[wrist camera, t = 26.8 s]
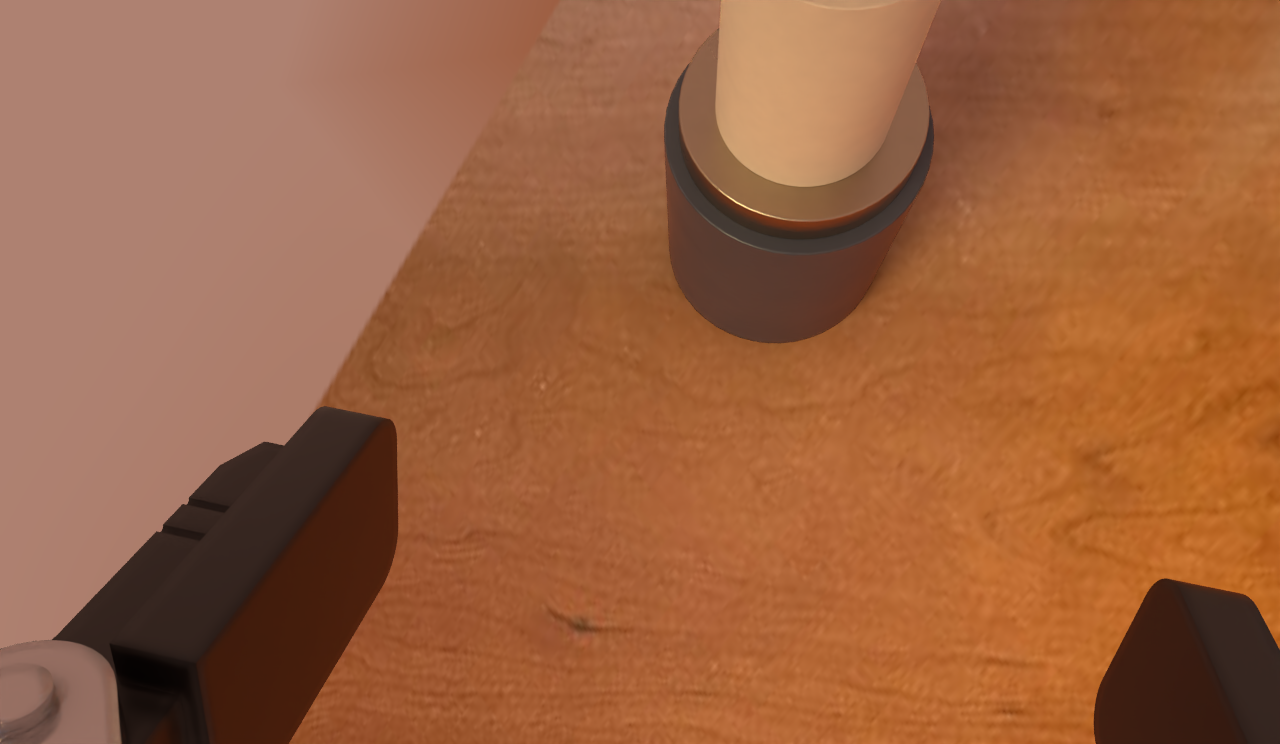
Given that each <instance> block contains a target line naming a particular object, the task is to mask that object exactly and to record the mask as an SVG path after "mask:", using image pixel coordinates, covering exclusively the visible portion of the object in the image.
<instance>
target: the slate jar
mask: <svg viewBox="0 0 1280 744" xmlns="http://www.w3.org/2000/svg"><path fill="white" fill-rule="evenodd" d="M718 44H719V28H718V29H717V30H716V31H715V32H714V33H713V34H712V35H710V36H709V37H708V39H707V40H706V41H705V42H704V43H703V44H702V46H701V47H700V48H699V49H698V51H697V52H696V54H695V56H694V57H693V59H692V60H691V62H690V63H689V64H688V65H687V67H686V68H685V70H684V71H683V73H682V74H681V76H680V77H679V79H678V81H677V83H676V85H675V87H674V89H673V92H672V94H671V97H670V100H669V103H668V107H667V111H666V118H665V124H664V144H665V165H666V187H667V209H668V230H669V251H670V258H671V264H672V268H673V272H674V275H675V278H676V280H677V282H678V284H679V287H680V289H681V290H682V292H683V293H684V295H685V297H686V298H687V300H688V301H689V302H690V303H691V305H692V306H693V307H694V308H695V309H696V310H697V311H698V312H699V313H700V314H701V315H702V316H703V317H704V318H705V319H707V320H708V321H709V322H711V323H712V324H714V325H715V326H717V327H718V328H720V329H722V330H724V331H726V332H728V333H730V334H733V335H735V336H738V337H740V338H744V339H748V340H752V341H757V342H765V343H786V342H794V341H799V340H803V339H807V338H810V337H813V336H815V335H818V334H820V333H823V332H824V331H826V330H828V329H830V328H832V327H833V326H835V325H836V324H838V323H839V322H840V321H842V320H843V319H844V318H846V317H847V316H848V315H849V314H850V313H851V312H852V311H853V310H854V309H855V307H856V306H857V305H858V304H859V302H860V301H861V300H862V298H863V297H864V295H865V293H866V291H867V290H868V288H869V286H870V284H871V282H872V280H873V278H874V277H875V275H876V273H877V271H878V269H879V267H880V265H881V263H882V261H883V260H884V258H885V256H886V254H887V252H888V250H889V248H890V246H891V244H892V242H893V241H894V239H895V237H896V235H897V233H898V231H899V229H900V227H901V225H902V223H903V222H904V220H905V218H906V216H907V214H908V212H909V210H910V208H911V206H912V205H913V203H914V201H915V199H916V197H917V195H918V193H919V191H920V189H921V187H922V186H923V184H924V181H925V178H926V176H927V173H928V171H929V168H930V163H931V159H932V155H933V144H934V129H933V119H932V115H931V110H930V106H929V98H928V94H927V89H926V85H925V82H924V79H923V77H922V74H921V71H920V69H919V67H918V65H917V63H916V64H915V66H914V69H913V71H912V74H911V76H910V79H909V81H908V84H907V86H906V89H905V91H904V94H903V96H902V99H901V101H900V104H899V106H898V109H897V111H896V113H895V116H894V118H893V121H892V123H891V126H890V128H889V131H888V133H887V136H886V138H885V141H884V143H883V144H882V146H881V148H880V149H879V151H878V152H877V153H876V155H875V156H874V157H873V158H872V159H871V160H870V161H869V162H868V163H867V164H866V165H865V166H864V167H862V168H861V169H860V170H858V171H857V172H856V173H854V174H852V175H850V176H848V177H847V178H844V179H842V180H839V181H837V182H834V183H830V184H826V185H821V186H813V187H797V186H788V185H784V184H779V183H776V182H773V181H770V180H767V179H765V178H763V177H761V176H759V175H757V174H755V173H754V172H752V171H751V170H749V169H748V168H746V167H745V166H744V165H743V164H742V163H741V162H740V161H739V160H737V158H736V157H735V156H734V155H733V154H732V153H731V151H730V150H729V148H728V147H727V145H726V144H725V142H724V140H723V138H722V136H721V134H720V131H719V128H718V124H717V119H716V113H715V101H716V82H717V63H718Z"/></svg>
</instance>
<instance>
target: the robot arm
mask: <svg viewBox="0 0 1280 744" xmlns="http://www.w3.org/2000/svg"><path fill="white" fill-rule="evenodd" d="M397 537H398V484H397V435H396V429H395V426H394V423H393V422H392V421H391V420H390V419H386V418H381V417H376V416H371V415H366V414H361V413H356V412H351V411H346V410H341V409H336V408H331V407H326V406H324V407H320V408H319V409H317V410H316V411H315V412H314V413H313V414H312V415H311V416H310V417H309V418H308V420H307V421H306V422H305V423H304V424H303V425H302V426H301V427H300V429H299V430H298V431H297V432H296V433H295V434H294V435H293V437H292V438H291V439H290V440H289V441H288V442H287V443H286V444H285V446H283V445H278V444H274V443H269V442H263V443H261V444H259V445H257V446H255V447H254V448H252V449H250V450H248V451H246V452H244V453H242V454H241V455H239V456H237V457H235V458H233V459H231V460H229V461H227V462H225V463H224V464H222V465H220V466H219V467H218V468H217V469H216V470H215V471H214V472H213V473H212V474H211V475H210V476H209V477H208V478H207V479H206V481H205V482H204V483H203V484H202V485H201V486H200V487H199V488H198V489H197V490H196V491H195V492H194V493H193V494H192V495H191V496H190V497H189V502H188V504H187V505H184V504H183V505H181V507H180V508H179V509H178V510H177V511H176V512H175V513H174V514H173V515H172V516H171V517H170V518H169V519H168V520H167V521H166V522H165V523H164V524H163V529H162V531H161V532H156V533H155V534H154V535H153V536H152V537H151V538H150V539H149V540H148V541H147V542H146V543H145V544H144V545H143V546H142V547H141V548H140V549H139V550H138V551H137V552H136V553H135V554H134V556H133V557H132V558H131V559H130V560H129V561H128V562H127V563H126V564H125V565H124V566H123V567H122V568H121V569H120V570H119V571H118V572H117V573H116V574H115V575H114V576H113V578H111V580H110V581H109V582H108V583H107V584H106V585H105V586H104V587H103V588H102V589H101V590H100V591H99V592H98V593H97V594H96V595H95V596H94V597H93V598H92V599H91V600H90V602H89V603H87V605H86V606H85V607H84V608H83V609H82V610H81V611H80V612H79V613H78V614H77V615H76V616H75V617H74V618H73V619H72V620H71V621H70V622H69V623H68V624H67V625H66V626H65V627H64V628H63V630H62V631H61V632H60V633H59V634H58V635H57V636H56V637H54V638H53V639H52V640H44V641H32V642H26V643H21V644H16V645H12V646H9V647H5V648H1V649H0V744H289V742H290V740H291V739H292V737H293V735H294V734H295V732H296V730H297V729H298V727H299V725H300V724H301V722H302V720H303V719H304V717H305V715H306V714H307V712H308V710H309V709H310V707H311V705H312V704H313V702H314V700H315V698H316V697H317V695H318V693H319V692H320V690H321V688H322V687H323V685H324V683H325V682H326V680H327V678H328V677H329V675H330V673H331V672H332V670H333V668H334V667H335V665H336V663H337V662H338V660H339V658H340V657H341V655H342V653H343V652H344V650H345V648H346V647H347V645H348V643H349V641H350V640H351V638H352V636H353V635H354V633H355V631H356V630H357V628H358V626H359V625H360V623H361V621H362V620H363V618H364V616H365V615H366V613H367V611H368V610H369V608H370V606H371V605H372V603H373V601H374V600H375V598H376V596H377V595H378V593H379V591H380V590H381V588H382V586H383V584H384V582H385V580H386V578H387V576H388V573H389V570H390V568H391V565H392V562H393V558H394V554H395V550H396V544H397ZM1094 734H1095V741H1096V744H1280V650H1279V648H1278V646H1277V644H1276V642H1275V640H1274V638H1273V637H1272V635H1271V633H1270V631H1269V629H1268V627H1267V625H1266V623H1265V621H1264V619H1263V618H1262V616H1261V614H1260V612H1259V610H1258V608H1257V607H1256V605H1255V603H1254V602H1253V601H1252V600H1251V599H1250V598H1249V597H1247V596H1246V595H1244V594H1240V593H1235V592H1230V591H1225V590H1220V589H1215V588H1210V587H1205V586H1200V585H1195V584H1191V583H1186V582H1181V581H1176V580H1171V579H1161V580H1159V581H1157V582H1156V583H1155V584H1154V585H1153V586H1152V587H1151V588H1150V590H1149V591H1148V593H1147V595H1146V596H1145V598H1144V600H1143V602H1142V604H1141V606H1140V608H1139V610H1138V612H1137V614H1136V616H1135V618H1134V620H1133V622H1132V623H1131V625H1130V627H1129V629H1128V631H1127V633H1126V635H1125V637H1124V639H1123V641H1122V643H1121V645H1120V647H1119V649H1118V650H1117V652H1116V654H1115V656H1114V658H1113V660H1112V662H1111V664H1110V666H1109V668H1108V670H1107V672H1106V674H1105V676H1104V677H1103V680H1102V682H1101V684H1100V687H1099V690H1098V693H1097V698H1096V703H1095V711H1094Z"/></svg>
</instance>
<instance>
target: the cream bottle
mask: <svg viewBox="0 0 1280 744" xmlns="http://www.w3.org/2000/svg"><path fill="white" fill-rule="evenodd" d="M940 2H941V0H721V7H720V26H719V44H718V63H717V82H716V101H715V113H716V119H717V124H718V128H719V131H720V134H721V136H722V138H723V140H724V142H725V144H726V145H727V147H728V148H729V150H730V151H731V153H732V154H733V155H734V156H735V157H736V158H737V160H739V161H740V162H741V163H742V164H743V165H744V166H745V167H746V168H748V169H749V170H751V171H752V172H754V173H755V174H757V175H759V176H761V177H763V178H765V179H767V180H770V181H773V182H776V183H779V184H784V185H788V186H797V187H813V186H821V185H826V184H830V183H834V182H837V181H839V180H842V179H844V178H847V177H848V176H850V175H852V174H854V173H856V172H857V171H858V170H860V169H861V168H862V167H864V166H865V165H866V164H867V163H868V162H869V161H870V160H871V159H872V158H873V157H874V156H875V155H876V153H877V152H878V151H879V149H880V148H881V146H882V144H883V143H884V141H885V138H886V136H887V133H888V131H889V128H890V126H891V123H892V121H893V118H894V116H895V113H896V111H897V109H898V106H899V104H900V101H901V99H902V96H903V94H904V91H905V89H906V86H907V84H908V81H909V79H910V76H911V74H912V71H913V69H914V66H915V64H916V61H917V59H918V56H919V54H920V51H921V49H922V46H923V44H924V41H925V39H926V36H927V34H928V31H929V29H930V26H931V24H932V21H933V19H934V16H935V14H936V12H937V9H938V7H939V4H940Z"/></svg>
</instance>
